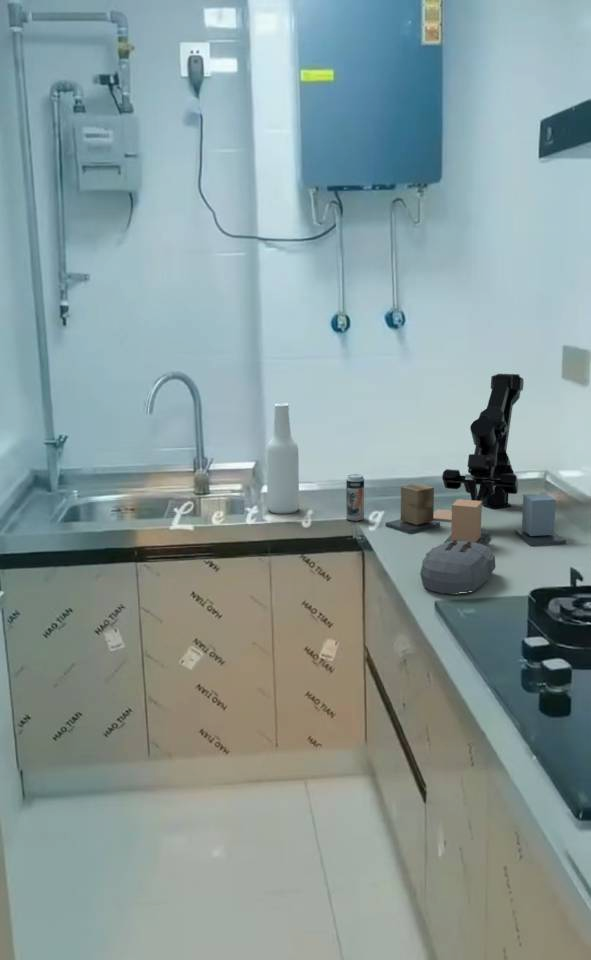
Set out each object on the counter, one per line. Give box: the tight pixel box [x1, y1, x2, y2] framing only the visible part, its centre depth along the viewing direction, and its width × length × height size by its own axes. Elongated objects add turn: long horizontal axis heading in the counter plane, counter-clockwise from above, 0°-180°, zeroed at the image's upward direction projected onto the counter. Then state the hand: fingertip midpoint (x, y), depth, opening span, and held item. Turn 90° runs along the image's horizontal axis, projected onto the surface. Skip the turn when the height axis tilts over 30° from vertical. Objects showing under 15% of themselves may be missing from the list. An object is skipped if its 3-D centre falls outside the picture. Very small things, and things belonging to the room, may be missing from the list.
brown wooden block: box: [400, 482, 435, 525], centre depth 245 cm, size 6×6×9 cm
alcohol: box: [265, 402, 300, 515], centre depth 259 cm, size 9×9×30 cm
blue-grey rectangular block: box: [521, 493, 557, 536], centre depth 233 cm, size 6×6×9 cm
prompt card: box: [433, 509, 452, 523], centre depth 253 cm, size 9×9×1 cm
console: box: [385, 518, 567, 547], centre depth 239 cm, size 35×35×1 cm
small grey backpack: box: [419, 540, 496, 594], centre depth 203 cm, size 15×8×20 cm
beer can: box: [345, 473, 365, 522], centre depth 251 cm, size 5×5×12 cm
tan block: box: [450, 498, 483, 543], centre depth 229 cm, size 6×6×9 cm
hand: (474, 510), depth 237 cm, fingers closed
